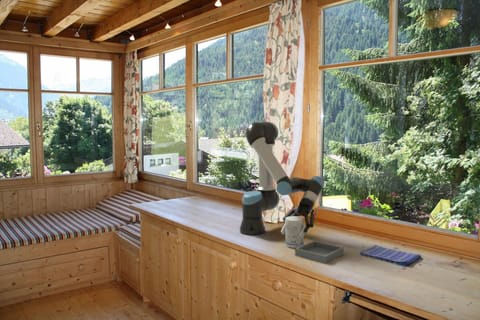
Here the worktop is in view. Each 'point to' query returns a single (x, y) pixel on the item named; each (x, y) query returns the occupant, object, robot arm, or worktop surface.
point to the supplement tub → (293, 231)
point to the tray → (319, 251)
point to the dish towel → (390, 255)
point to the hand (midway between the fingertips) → (291, 235)
